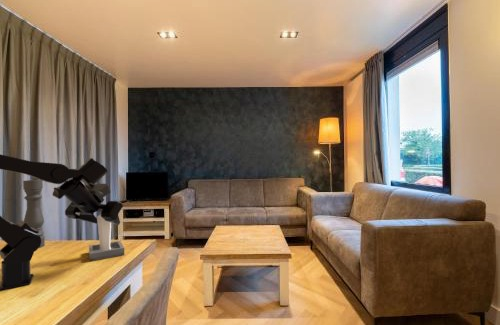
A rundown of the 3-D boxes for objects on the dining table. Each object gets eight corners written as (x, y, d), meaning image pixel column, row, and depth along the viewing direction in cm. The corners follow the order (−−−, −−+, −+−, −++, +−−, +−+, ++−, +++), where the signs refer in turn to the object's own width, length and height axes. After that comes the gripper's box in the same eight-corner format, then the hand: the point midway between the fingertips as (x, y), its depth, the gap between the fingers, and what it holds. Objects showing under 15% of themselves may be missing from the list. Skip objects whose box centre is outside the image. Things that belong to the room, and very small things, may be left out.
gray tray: (124, 255, 92) (124, 247, 92) (90, 261, 86) (90, 253, 86) (120, 247, 100) (120, 240, 100) (88, 252, 95) (88, 245, 95)
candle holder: (41, 248, 100) (40, 180, 100) (20, 250, 98) (19, 181, 97) (46, 243, 106) (45, 179, 105) (27, 245, 103) (26, 180, 103)
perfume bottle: (98, 250, 95) (97, 207, 94) (112, 248, 96) (112, 206, 96) (96, 254, 90) (95, 209, 90) (111, 252, 92) (110, 208, 92)
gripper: (118, 176, 86) (141, 205, 97) (72, 175, 91) (99, 203, 102) (99, 204, 79) (126, 232, 90) (49, 202, 84) (81, 229, 95)
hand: (108, 223), depth 94 cm, fingers open, 9 cm apart
